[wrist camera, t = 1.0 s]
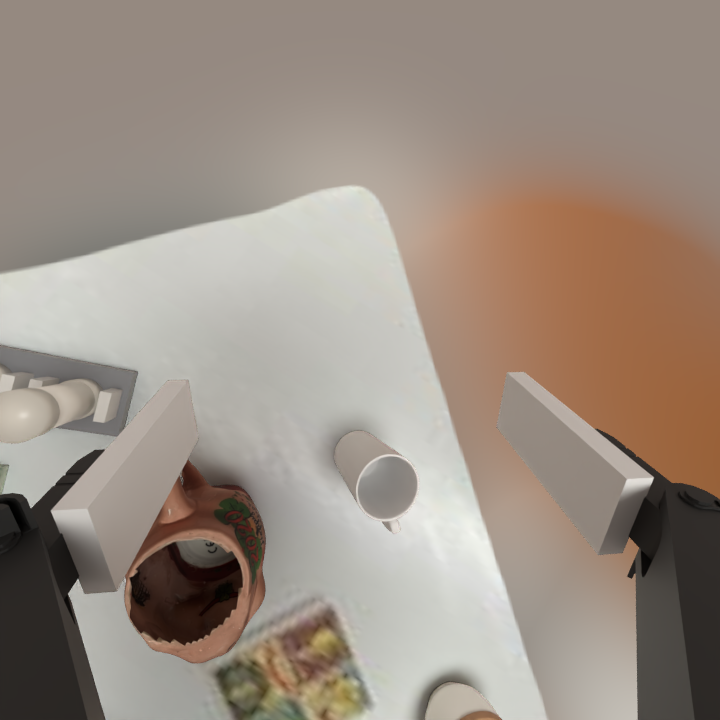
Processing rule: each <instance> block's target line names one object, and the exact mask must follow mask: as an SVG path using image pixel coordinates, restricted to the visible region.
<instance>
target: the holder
mask: <svg viewBox="0 0 720 720" xmlns="http://www.w3.org/2000/svg"><path fill="white" fill-rule="evenodd" d="M0 363H1V364H3V365H5V366H6V367H8V368H9V369H10V370H11V372H12V373H7V374H2V377H1V380H0V442H3V443H11V444H13V443H21V442H25V441H28V440H30V439H33V438H35V437H38V436H40V435H43V434H45V433H47V432H48V431H50V430H51V429H53V428H55V427H56V428H62V429H69V430H76V431H83V432H90V433H96V434H103V435H110V436H118V435H119V434H120V433H121V432H122V431H123V430H124V426H125V422H126V418H127V414H128V410H129V406H130V402H131V398H132V394H133V390H134V386H135V382H136V378H137V374H138V372H136V371H130V370H125V369H120V368H115V367H110V366H105V365H100V364H94V363H89V362H84V361H79V360H74V359H69V358H63V357H58V356H53V355H48V354H43V353H38V352H32V351H27V350H22V349H17V348H12V347H7V346H1V345H0Z"/></svg>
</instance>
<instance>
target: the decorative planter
mask: <svg viewBox="0 0 720 720" xmlns="http://www.w3.org/2000/svg"><path fill="white" fill-rule="evenodd" d="M182 476H183V479H184V481H183V486H182V483H181V480H180V476H179V477H178V478H177V480H176V482H175V484H174V486H173V488H172V490H171V492H170V493H169V495H168V497H167V499H166V501H165V503H164V505H163V506H162V508H161V510H160V512H159V514H158V516H157V518H156V519H155V521H154V523H153V525H152V527H151V529H150V531H149V532H148V534H147V536H146V538H145V540H144V542H143V544H142V546H141V547H140V549H139V551H138V553H137V555H136V557H135V559H134V560H133V562H132V564H131V566H130V568H129V570H128V572H127V573H126V575H125V577H126V586H125V594H124V597H125V606H126V610H127V614H128V617H129V619H130V621H131V623H132V625H133V626H134V628H135V629H136V630H137V632H138V633H139V634H140V635H141V636H142V637H143V639H144V640H145V641H146V643H147V644H148V646H149V647H150V648H151V649H153V650H155V651H159V652H164V653H168V654H172V655H175V656H178V657H180V658H182V659H184V660H186V661H188V662H190V663H203V662H206V661H208V660H211V659H213V658H216V657H218V656H222V655H224V654H225V653H227V652H228V651H230V650H231V649H232V647H233V646H234V645H235V644H236V642H237V641H238V639H239V638H240V636H241V634H242V632H243V630H244V628H245V627H246V625H247V623H248V622H249V620H250V619H251V618H252V616H253V615H254V614H255V612H256V611H257V610H258V608H259V607H260V606H261V604H262V602H263V600H264V597H265V581H264V577H263V572H262V566H263V560H264V554H265V545H266V537H265V530H264V526H263V522H262V520H261V517H260V515H259V513H258V511H257V509H256V507H255V505H254V503H253V501H252V499H251V497H250V496H249V495H248V493H247V492H246V491H245V490H244V489H242V488H241V487H239V486H236V485H220V486H210V485H209V484H208V483H207V482H206V480H205V479H204V478H203V476H202V475H201V474H200V472H199V471H198V470H197V469H196V468H195V467H194V466H193V465H192V464H191V463H190V461H189V460H187V462H186V464H185V465H184V467H183V469H182Z"/></svg>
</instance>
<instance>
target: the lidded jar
mask: <svg viewBox="0 0 720 720" xmlns="http://www.w3.org/2000/svg"><path fill="white" fill-rule="evenodd" d="M425 720H502V719H501V718H500V717H499V715H498V714H497V712H496V711H495V710H494V708H493V707H492V705H491V704H490V703H489V702H488V701H487V699H486V698H485V697H483V696H482V695H481V694H480V693H479V692H478V691H477V690H475V689H474V688H472V687H470V686H468V685H465V684H461V683H456V682H446V683H444V684H442V685H440V686H439V687H437V688H436V689H435V690H434V692H433V693H432V694H431V696H430V698H429V701H428V705H427V710H426V714H425Z"/></svg>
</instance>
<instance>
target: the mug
mask: <svg viewBox="0 0 720 720" xmlns="http://www.w3.org/2000/svg"><path fill="white" fill-rule="evenodd" d="M334 459H335V464H336V466H337V468H338V470H339V472H340V474H341V476H342V477H343V479H344V481H345V483H346V484H347V486H348V488H349V490H350V491H351V493H352V495H353V497H354V499H355V500H356V502H357V503H358V505H359V507H360V508H361V510H362V511H363V512H364V513H365V514H366V515H367V516H368V517H370V518H372V519H374V520H377V521H382V523H383V524H384V525H385V527H386V528H387V529H388V530H389V531H391V532H392V533H393V534H397V533H399V532H400V531H401V528H400V525H399V522H398V520H397V519H398V518H400V517H402V516H403V515H404V514H406V513H407V512H408V511H409V510H410V509H411V507H412V506H413V504H414V503H415V501H416V498H417V496H418V492H419V477H418V473H417V471H416V469H415V467H414V466H413V464H412V463H411V462H410V461H409V460H408V459H406V458H404V457H403V456H402V455H400V454H399V453H398V452H396V451H395V450H393V449H392V448H390V447H389V446H387V445H386V444H385V443H383V442H382V441H380V440H379V439H377V438H376V437H374V436H373V435H371V434H370V433H368V432H365V431H353V432H350V433H348V434H346V435H345V436H343V437H342V438H341V439H340V441H339V442H338V444H337V446H336V448H335V453H334Z"/></svg>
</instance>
